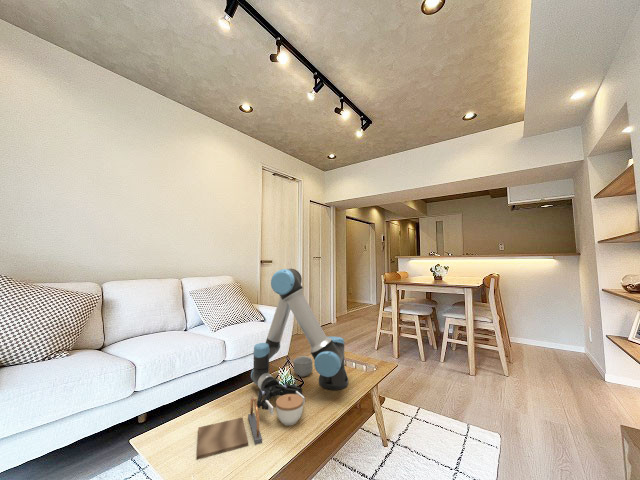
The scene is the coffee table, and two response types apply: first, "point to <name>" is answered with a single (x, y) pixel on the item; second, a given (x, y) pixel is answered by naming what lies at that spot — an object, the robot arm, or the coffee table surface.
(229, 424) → the pad
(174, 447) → the coffee table surface
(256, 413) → the buzz wire
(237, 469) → the coffee table surface
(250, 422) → the wire stand
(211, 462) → the coffee table surface
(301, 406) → the lidded jar
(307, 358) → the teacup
